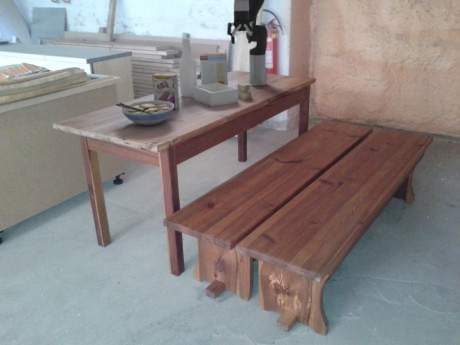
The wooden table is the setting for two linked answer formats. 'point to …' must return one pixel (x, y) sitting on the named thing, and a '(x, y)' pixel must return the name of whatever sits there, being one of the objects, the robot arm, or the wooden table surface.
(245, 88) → the birch block
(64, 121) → the wooden table surface
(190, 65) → the alcohol
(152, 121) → the ramen bowl
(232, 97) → the bin
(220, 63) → the cracker box
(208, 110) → the wooden table surface
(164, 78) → the candy bar box
